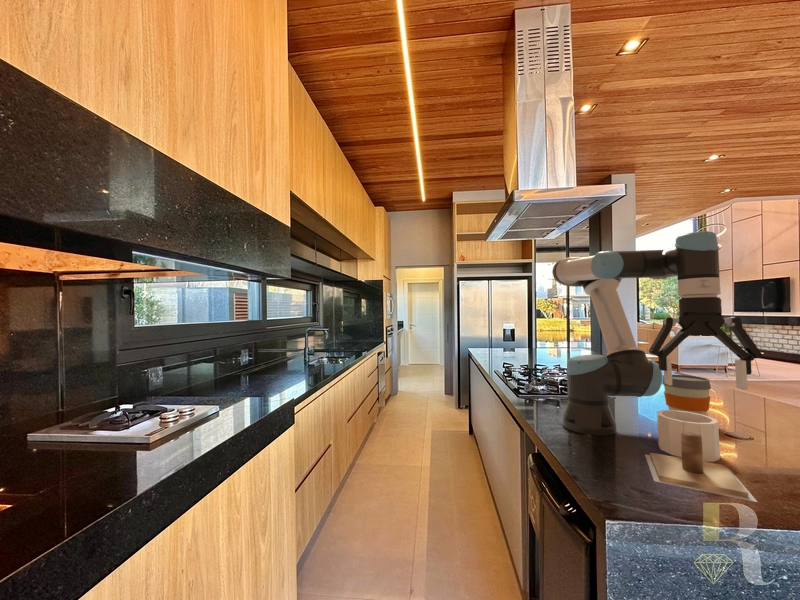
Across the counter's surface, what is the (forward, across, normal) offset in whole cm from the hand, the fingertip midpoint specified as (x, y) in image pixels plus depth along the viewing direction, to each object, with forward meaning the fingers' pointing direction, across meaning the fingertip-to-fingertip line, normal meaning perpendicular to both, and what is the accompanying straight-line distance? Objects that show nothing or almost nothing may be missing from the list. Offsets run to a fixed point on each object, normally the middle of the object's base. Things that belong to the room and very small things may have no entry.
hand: (703, 386), depth 77 cm
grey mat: (+20, -4, -4) cm, 21 cm away
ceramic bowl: (+20, 0, +12) cm, 23 cm away
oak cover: (+19, -4, -4) cm, 20 cm away
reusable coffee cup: (+20, +11, +43) cm, 49 cm away
